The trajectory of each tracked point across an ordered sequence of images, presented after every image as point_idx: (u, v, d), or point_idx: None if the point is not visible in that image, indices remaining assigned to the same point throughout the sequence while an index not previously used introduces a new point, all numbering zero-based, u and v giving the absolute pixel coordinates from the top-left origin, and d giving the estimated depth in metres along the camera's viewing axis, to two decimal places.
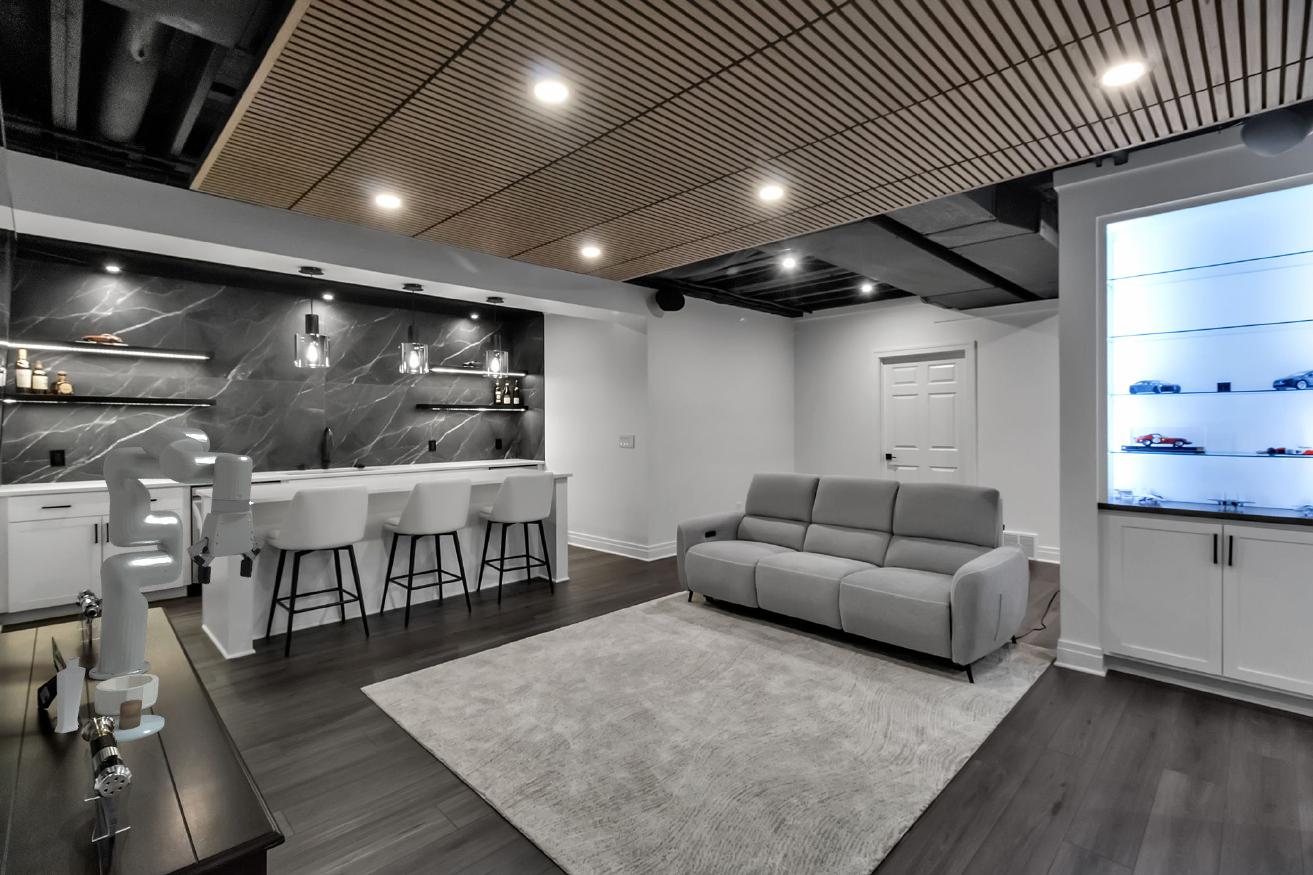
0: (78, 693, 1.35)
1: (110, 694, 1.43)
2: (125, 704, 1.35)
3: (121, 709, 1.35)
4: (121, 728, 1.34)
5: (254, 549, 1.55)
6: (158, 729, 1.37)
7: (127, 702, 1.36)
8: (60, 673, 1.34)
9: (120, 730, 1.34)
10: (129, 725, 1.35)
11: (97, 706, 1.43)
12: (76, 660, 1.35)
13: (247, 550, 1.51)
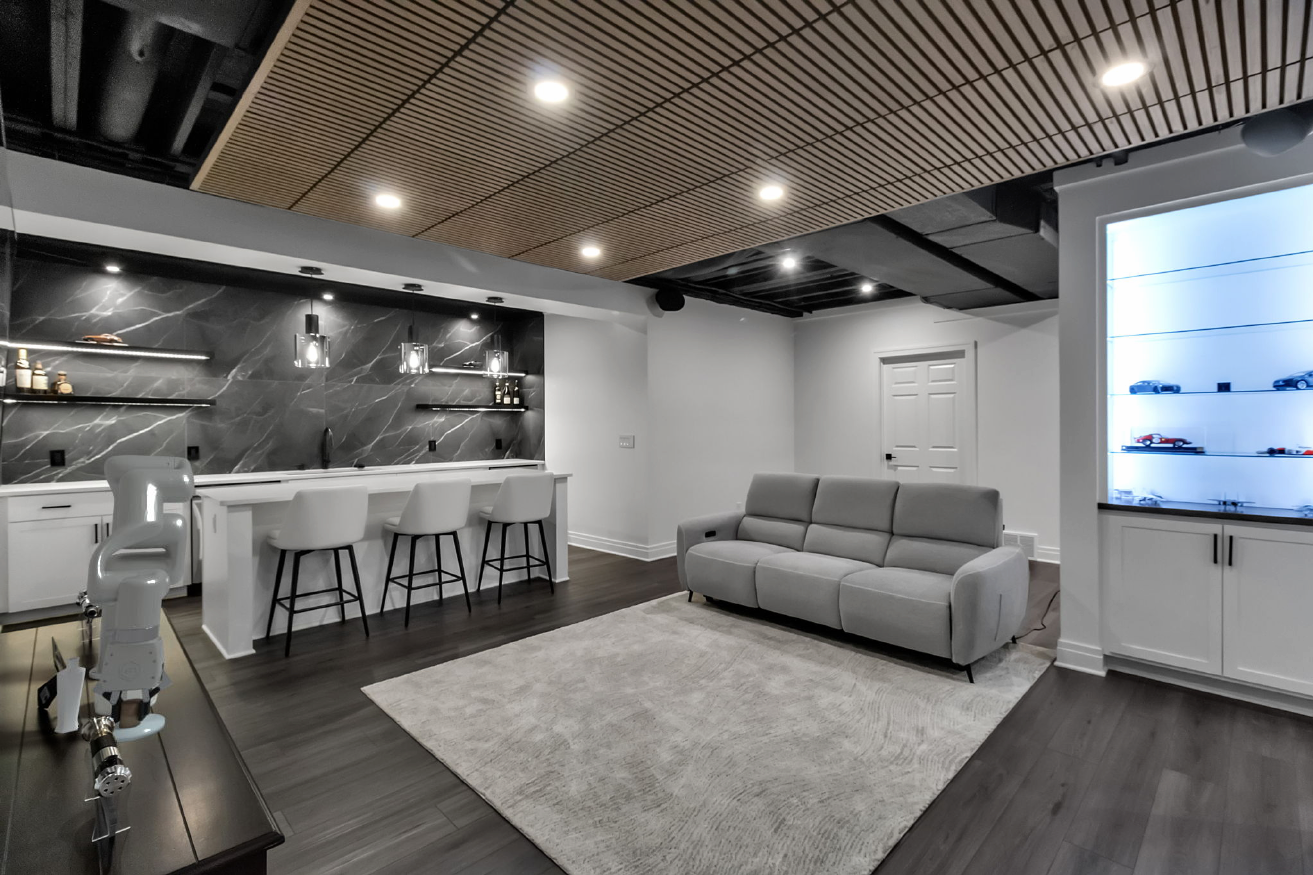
0: (78, 693, 1.35)
1: None
2: (126, 703, 1.35)
3: (122, 708, 1.35)
4: (121, 727, 1.34)
5: None
6: (158, 728, 1.37)
7: (127, 701, 1.36)
8: (60, 673, 1.34)
9: (120, 729, 1.34)
10: (129, 724, 1.35)
11: (97, 706, 1.43)
12: (76, 660, 1.35)
13: None
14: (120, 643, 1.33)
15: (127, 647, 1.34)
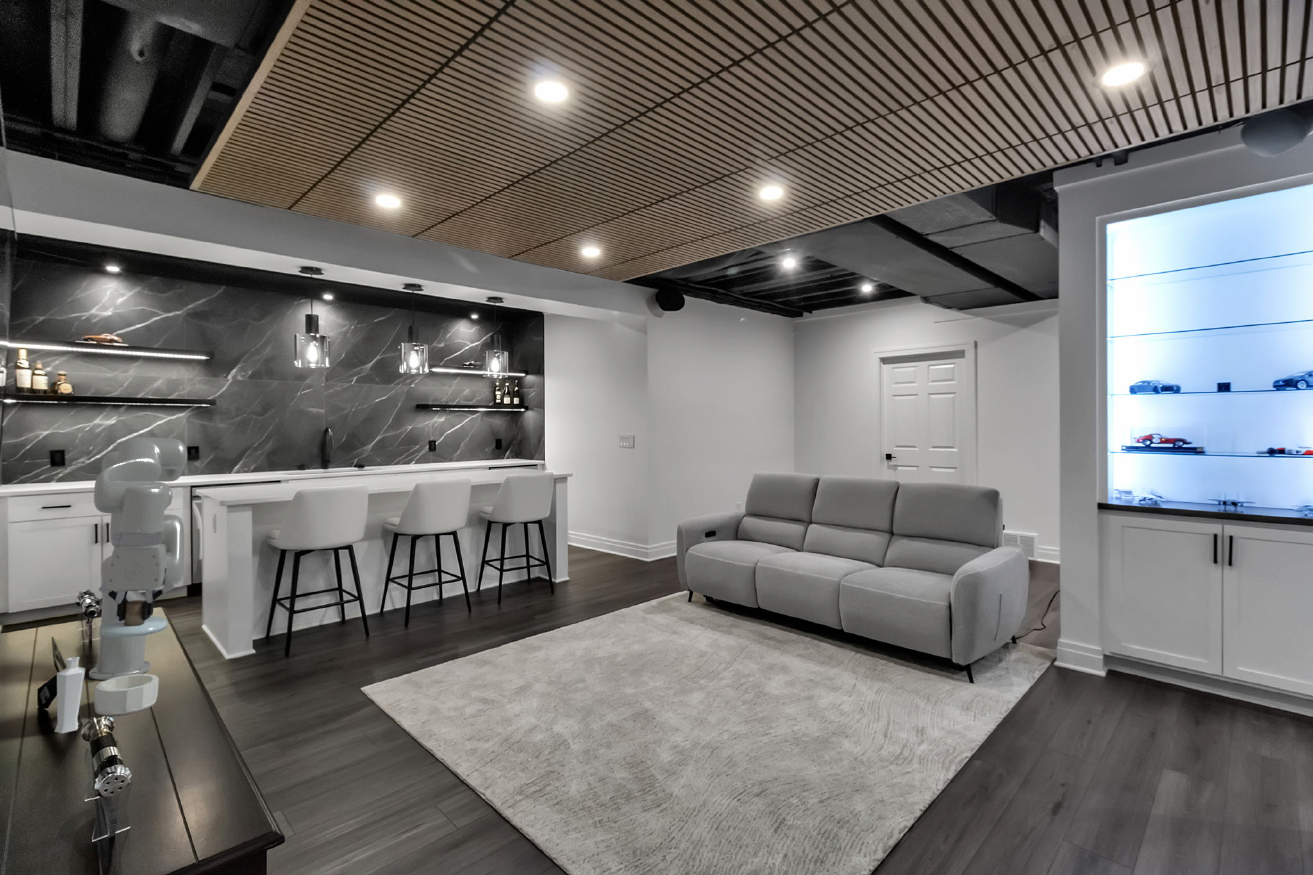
0: (78, 693, 1.35)
1: (110, 694, 1.43)
2: (130, 603, 1.44)
3: (127, 607, 1.43)
4: (126, 625, 1.43)
5: (116, 591, 1.44)
6: (161, 627, 1.45)
7: (132, 601, 1.45)
8: (60, 673, 1.34)
9: (125, 626, 1.43)
10: (134, 622, 1.44)
11: (97, 706, 1.43)
12: (76, 660, 1.35)
13: None
14: (125, 546, 1.41)
15: (132, 550, 1.42)
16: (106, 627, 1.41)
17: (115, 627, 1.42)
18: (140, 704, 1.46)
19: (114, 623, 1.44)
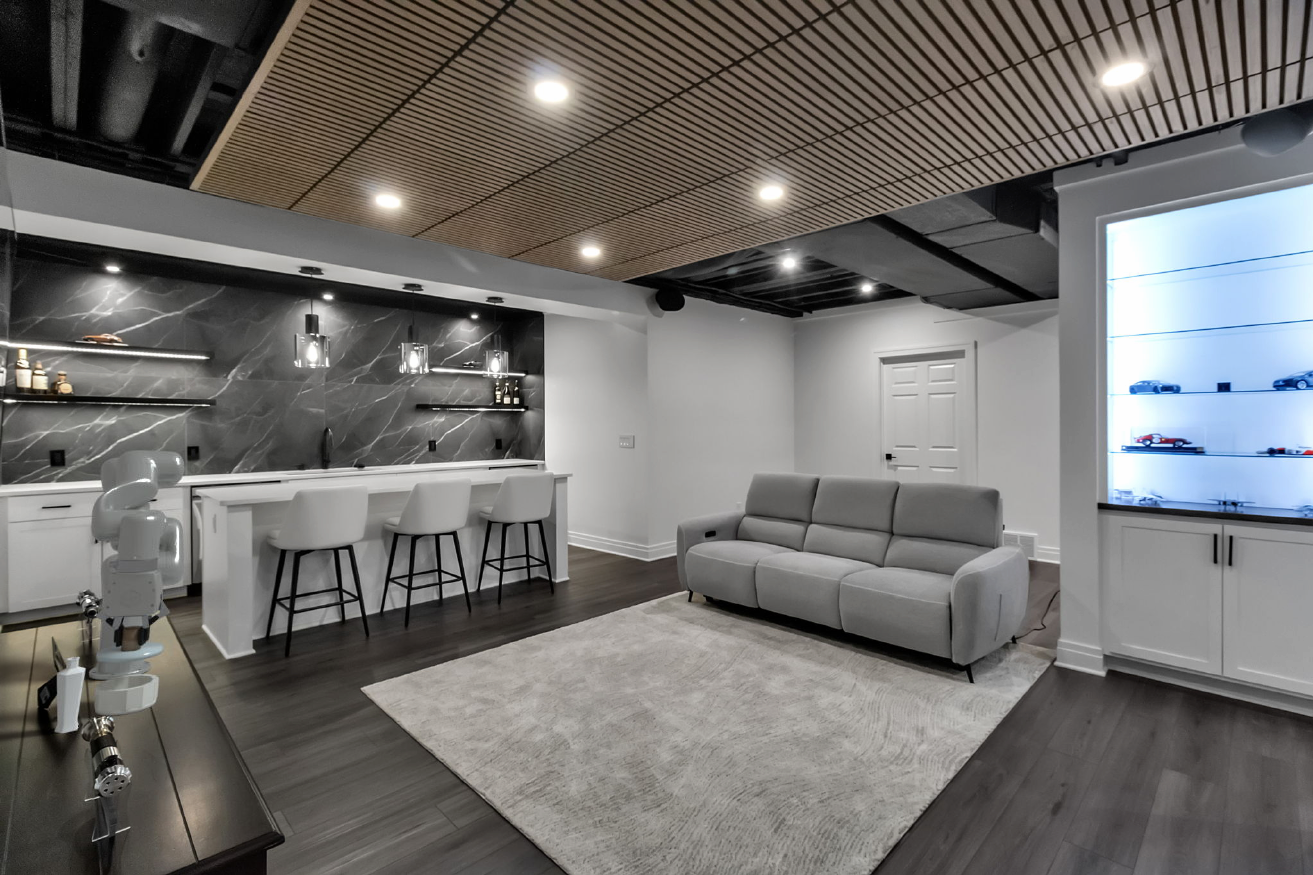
0: (78, 693, 1.35)
1: (110, 694, 1.43)
2: (127, 628, 1.47)
3: (123, 633, 1.47)
4: (123, 650, 1.46)
5: (113, 617, 1.47)
6: (157, 652, 1.49)
7: (129, 627, 1.48)
8: (60, 673, 1.34)
9: (122, 652, 1.46)
10: (130, 647, 1.47)
11: (97, 706, 1.43)
12: (76, 660, 1.35)
13: None
14: (122, 573, 1.45)
15: (128, 577, 1.46)
16: (103, 653, 1.44)
17: (112, 652, 1.45)
18: (140, 704, 1.46)
19: (111, 649, 1.48)
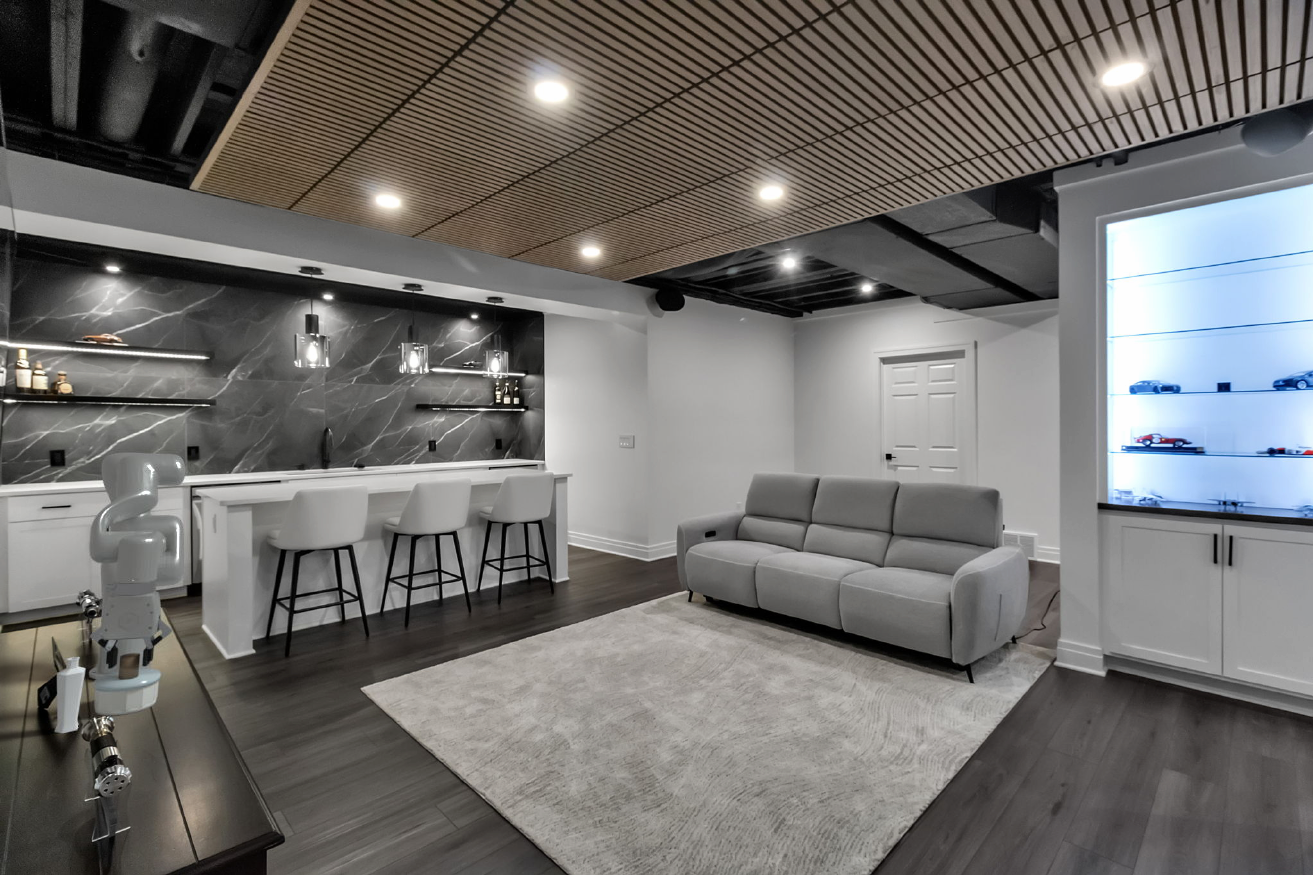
0: (78, 693, 1.35)
1: (110, 694, 1.43)
2: (125, 656, 1.47)
3: (121, 661, 1.47)
4: (121, 678, 1.47)
5: (105, 639, 1.47)
6: (155, 680, 1.49)
7: (126, 655, 1.48)
8: (60, 673, 1.34)
9: (120, 680, 1.46)
10: (128, 675, 1.47)
11: (97, 706, 1.43)
12: (76, 660, 1.35)
13: None
14: (120, 595, 1.45)
15: (126, 599, 1.46)
16: (101, 682, 1.44)
17: (109, 681, 1.45)
18: (140, 704, 1.46)
19: (109, 677, 1.48)
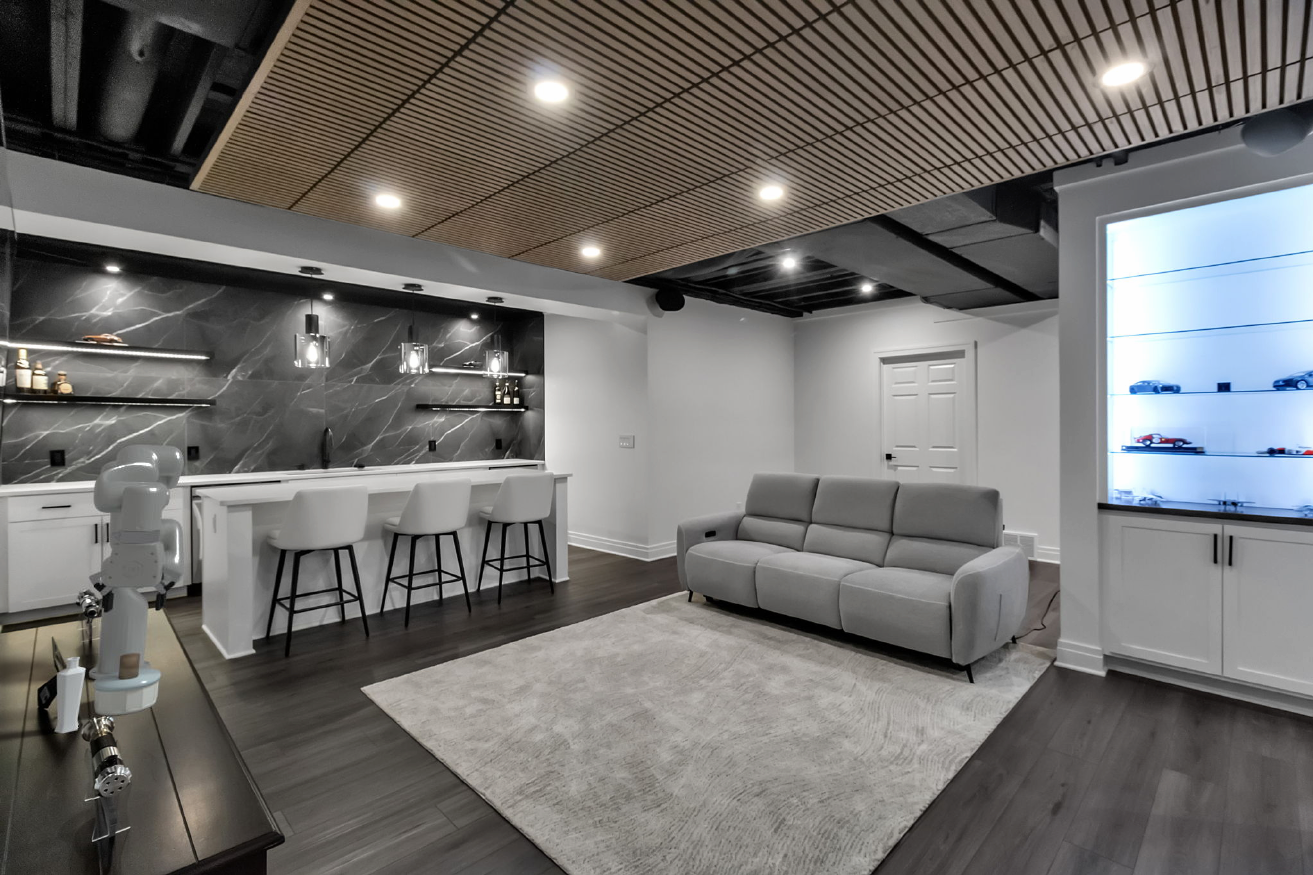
0: (78, 693, 1.35)
1: (110, 694, 1.43)
2: (125, 656, 1.47)
3: (121, 661, 1.47)
4: (121, 678, 1.47)
5: (101, 583, 1.47)
6: (155, 680, 1.49)
7: (126, 655, 1.48)
8: (60, 673, 1.34)
9: (120, 680, 1.46)
10: (128, 675, 1.47)
11: (97, 706, 1.43)
12: (76, 660, 1.35)
13: None
14: (124, 543, 1.46)
15: (131, 548, 1.46)
16: (101, 682, 1.44)
17: (109, 681, 1.45)
18: (140, 704, 1.46)
19: (109, 677, 1.48)
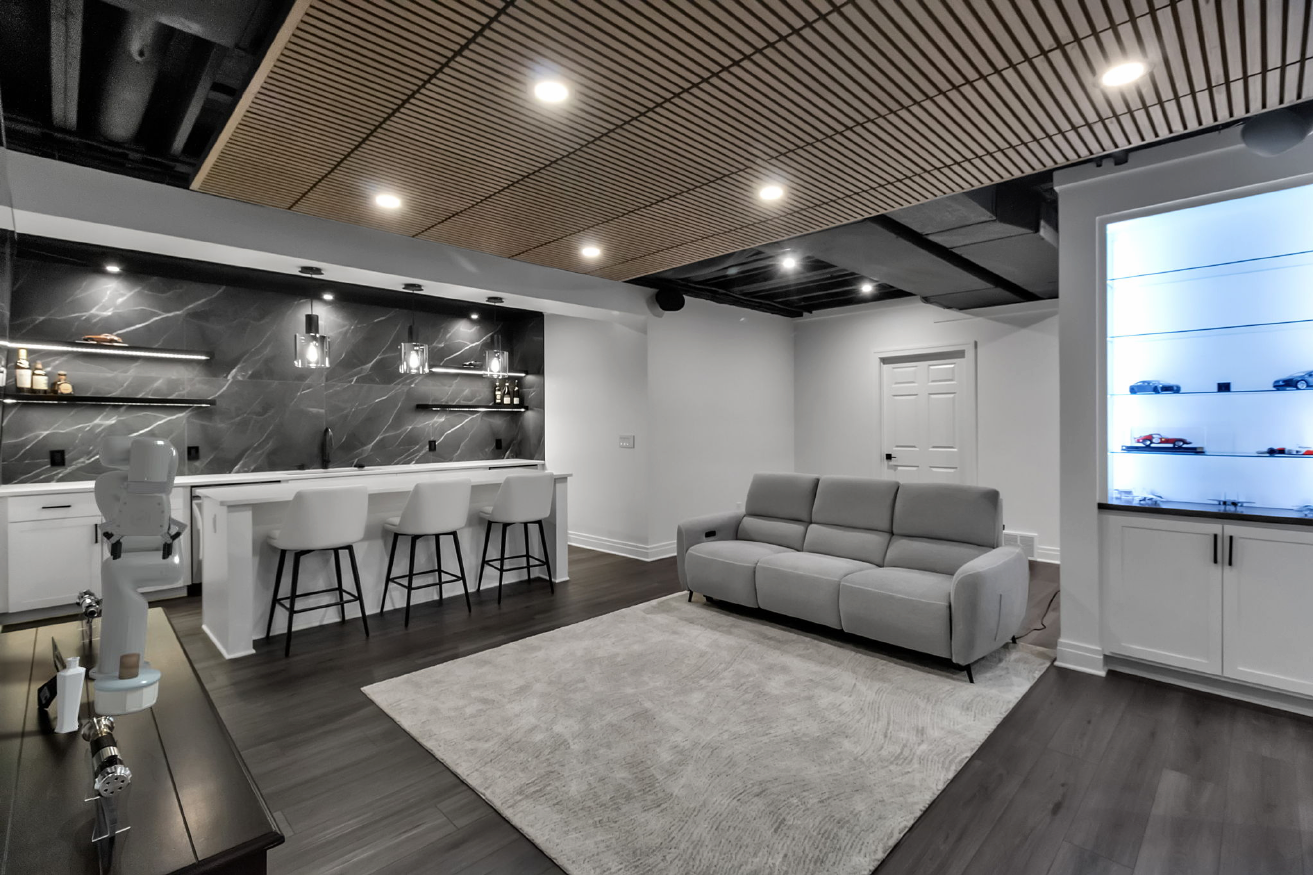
0: (78, 693, 1.35)
1: (110, 694, 1.43)
2: (125, 656, 1.47)
3: (121, 661, 1.47)
4: (121, 678, 1.47)
5: (110, 532, 1.52)
6: (155, 680, 1.49)
7: (126, 655, 1.48)
8: (60, 673, 1.34)
9: (120, 680, 1.46)
10: (128, 675, 1.47)
11: (97, 706, 1.43)
12: (76, 660, 1.35)
13: None
14: (132, 493, 1.51)
15: (138, 497, 1.52)
16: (101, 682, 1.44)
17: (109, 681, 1.45)
18: (140, 704, 1.46)
19: (109, 677, 1.48)
